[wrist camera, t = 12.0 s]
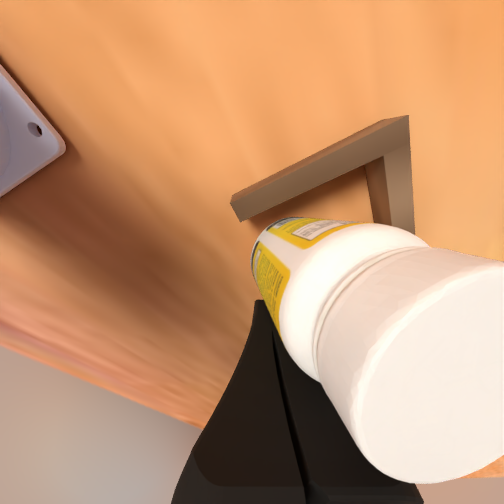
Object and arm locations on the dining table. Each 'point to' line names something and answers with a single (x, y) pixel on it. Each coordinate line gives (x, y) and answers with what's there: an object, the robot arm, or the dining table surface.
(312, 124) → the dining table surface
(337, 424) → the robot arm
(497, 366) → the supplement bottle
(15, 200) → the dining table surface
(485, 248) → the dining table surface
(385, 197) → the mount
